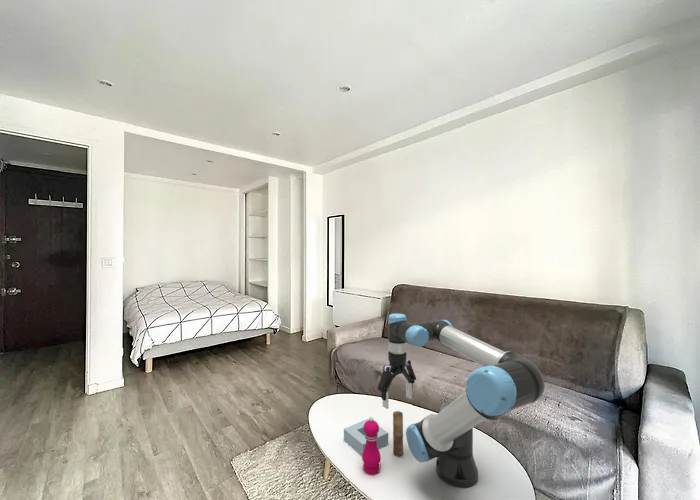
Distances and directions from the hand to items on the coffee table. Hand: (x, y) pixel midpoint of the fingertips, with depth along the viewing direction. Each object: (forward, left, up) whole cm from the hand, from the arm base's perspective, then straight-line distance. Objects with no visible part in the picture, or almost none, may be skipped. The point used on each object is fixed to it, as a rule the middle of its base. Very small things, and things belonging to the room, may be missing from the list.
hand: (397, 402), depth 127 cm
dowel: (0, 0, -21) cm, 21 cm away
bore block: (+14, +6, -21) cm, 26 cm away
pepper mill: (-1, +15, -21) cm, 26 cm away
